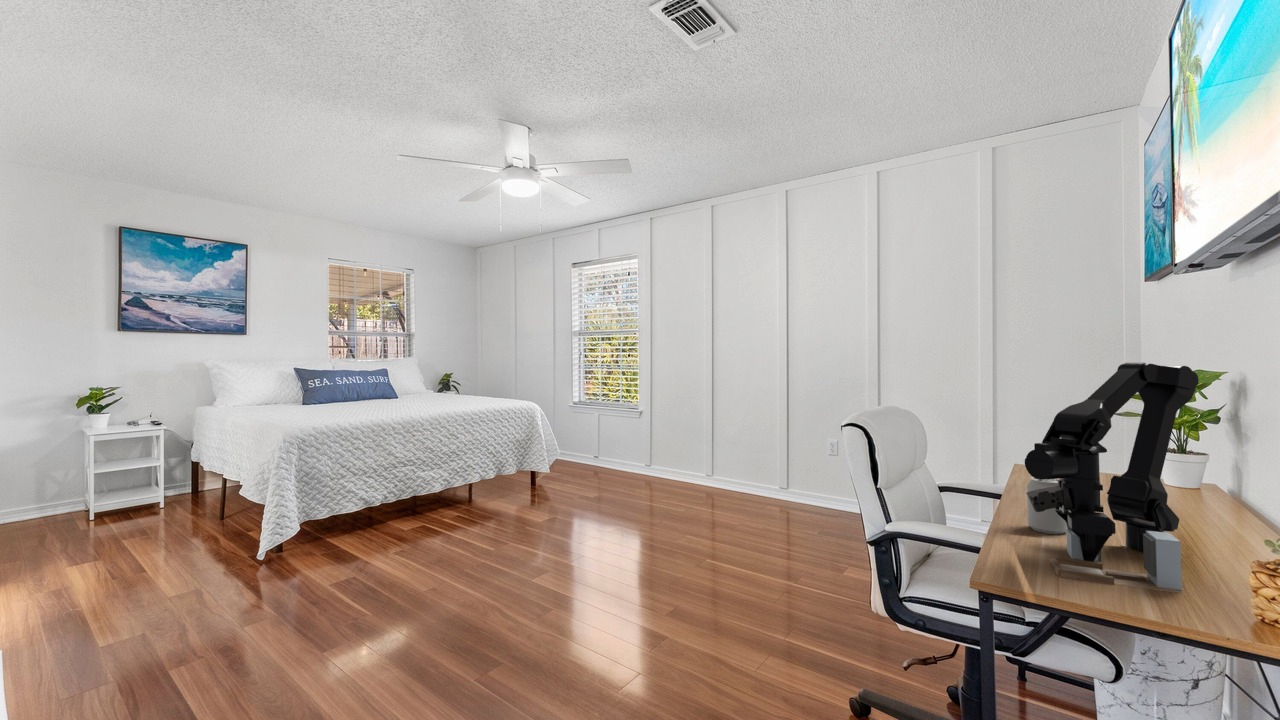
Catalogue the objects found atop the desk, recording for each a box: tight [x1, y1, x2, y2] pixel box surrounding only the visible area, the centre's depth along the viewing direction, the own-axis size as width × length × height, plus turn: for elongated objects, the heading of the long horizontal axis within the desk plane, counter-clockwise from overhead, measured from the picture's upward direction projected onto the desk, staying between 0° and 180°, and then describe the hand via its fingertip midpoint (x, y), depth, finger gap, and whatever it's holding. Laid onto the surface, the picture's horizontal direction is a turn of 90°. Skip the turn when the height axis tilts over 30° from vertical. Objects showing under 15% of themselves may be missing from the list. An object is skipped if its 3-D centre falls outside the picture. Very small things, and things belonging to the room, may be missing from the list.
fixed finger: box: [1142, 531, 1183, 591], centre depth 92 cm, size 5×4×8 cm
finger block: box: [1066, 529, 1102, 562], centre depth 105 cm, size 4×4×6 cm
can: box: [1026, 476, 1068, 535], centre depth 126 cm, size 8×8×12 cm
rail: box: [1049, 556, 1182, 594], centre depth 95 cm, size 8×16×2 cm, turn 61°
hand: (1082, 556), depth 105 cm, fingers open, 8 cm apart
